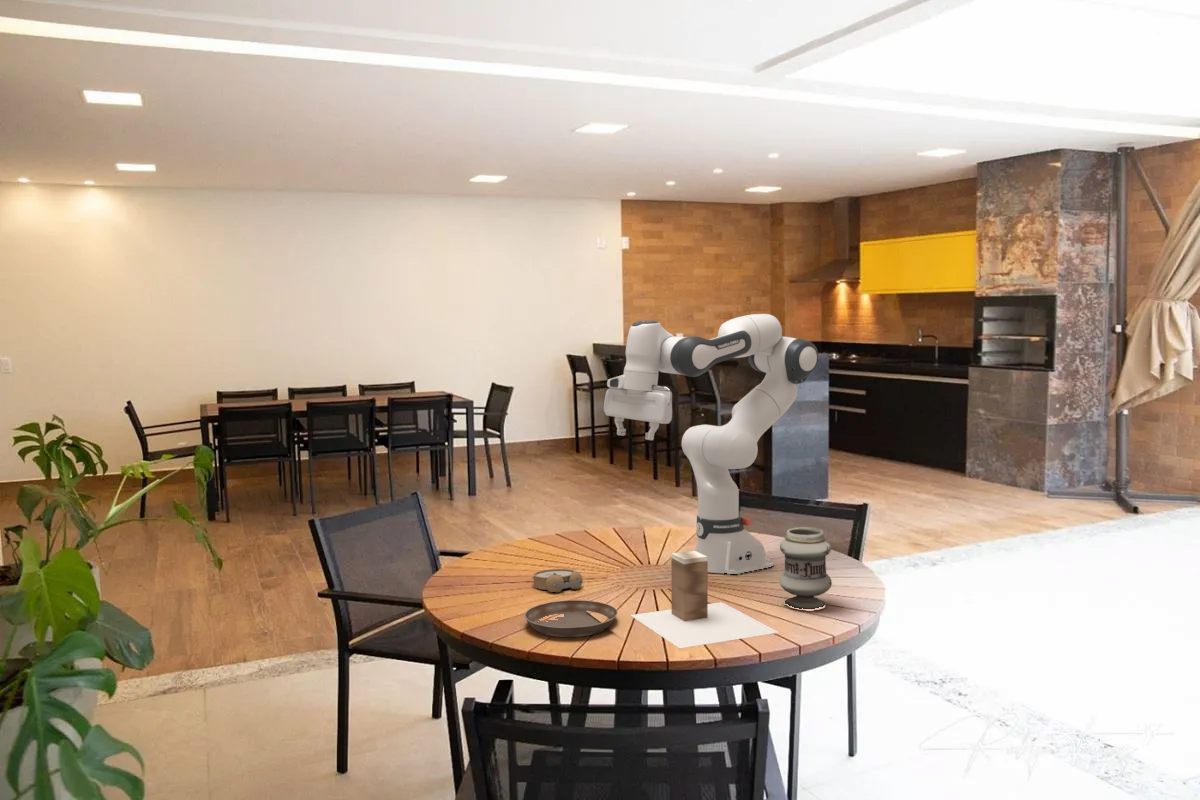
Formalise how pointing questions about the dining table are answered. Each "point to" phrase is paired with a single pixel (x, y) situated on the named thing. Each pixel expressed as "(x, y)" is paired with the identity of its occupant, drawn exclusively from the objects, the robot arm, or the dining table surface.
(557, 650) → the dining table surface
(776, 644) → the dining table surface
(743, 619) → the white mat
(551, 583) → the alarm clock
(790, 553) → the apothecary jar
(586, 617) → the plant saucer
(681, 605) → the walnut block
